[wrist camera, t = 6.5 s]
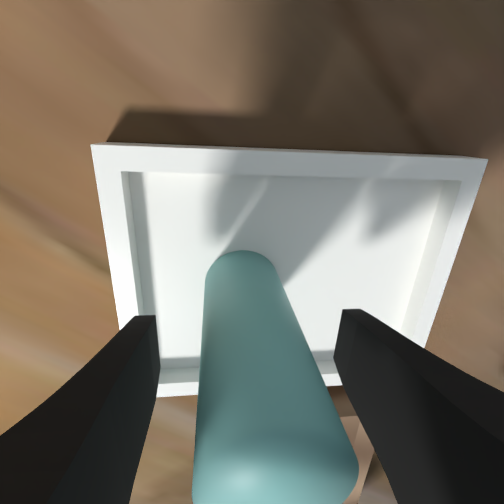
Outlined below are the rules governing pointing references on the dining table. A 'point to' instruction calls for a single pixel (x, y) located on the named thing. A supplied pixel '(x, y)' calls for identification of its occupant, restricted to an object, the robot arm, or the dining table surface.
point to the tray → (280, 236)
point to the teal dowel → (263, 398)
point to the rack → (353, 437)
